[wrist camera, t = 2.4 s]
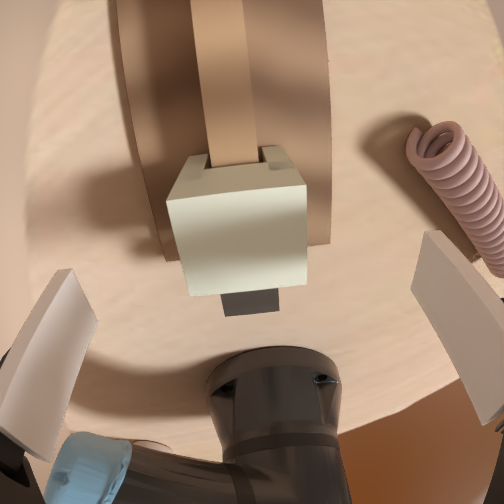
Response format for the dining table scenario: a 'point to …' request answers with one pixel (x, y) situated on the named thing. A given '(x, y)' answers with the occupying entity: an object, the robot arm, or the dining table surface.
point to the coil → (462, 187)
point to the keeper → (240, 224)
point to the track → (272, 95)
